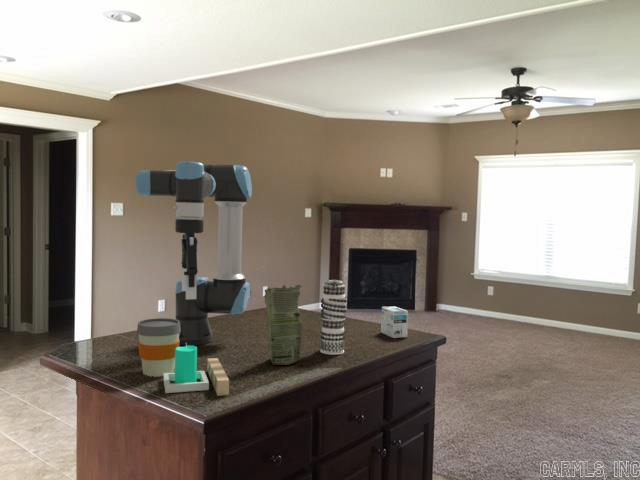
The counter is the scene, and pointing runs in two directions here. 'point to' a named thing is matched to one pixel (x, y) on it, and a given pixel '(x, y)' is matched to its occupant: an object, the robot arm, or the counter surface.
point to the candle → (186, 364)
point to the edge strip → (218, 377)
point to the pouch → (283, 324)
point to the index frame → (185, 386)
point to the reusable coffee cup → (158, 345)
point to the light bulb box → (394, 322)
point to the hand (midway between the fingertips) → (188, 294)
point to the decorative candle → (333, 317)
